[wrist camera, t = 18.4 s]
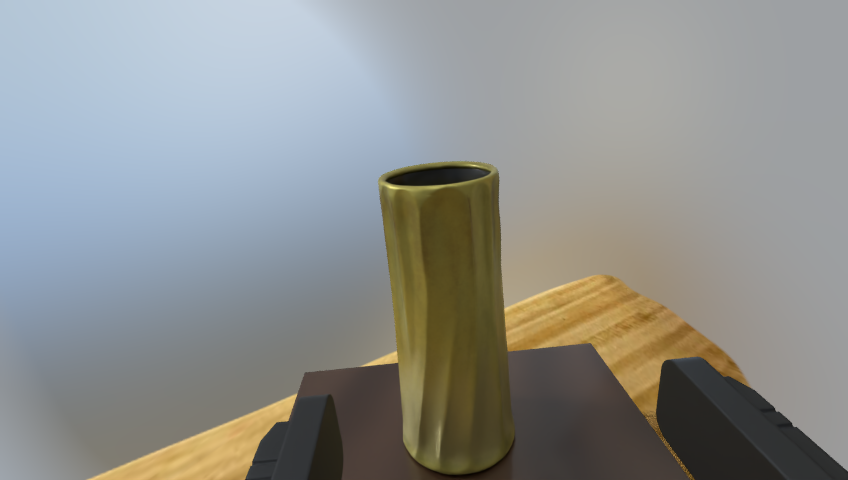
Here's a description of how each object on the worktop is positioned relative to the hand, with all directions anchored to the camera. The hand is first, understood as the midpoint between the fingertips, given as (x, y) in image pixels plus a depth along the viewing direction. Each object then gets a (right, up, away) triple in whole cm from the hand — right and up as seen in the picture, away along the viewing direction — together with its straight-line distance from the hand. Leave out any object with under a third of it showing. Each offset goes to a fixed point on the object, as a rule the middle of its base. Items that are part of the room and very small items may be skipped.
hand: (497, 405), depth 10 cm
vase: (0, -7, +13) cm, 15 cm away
